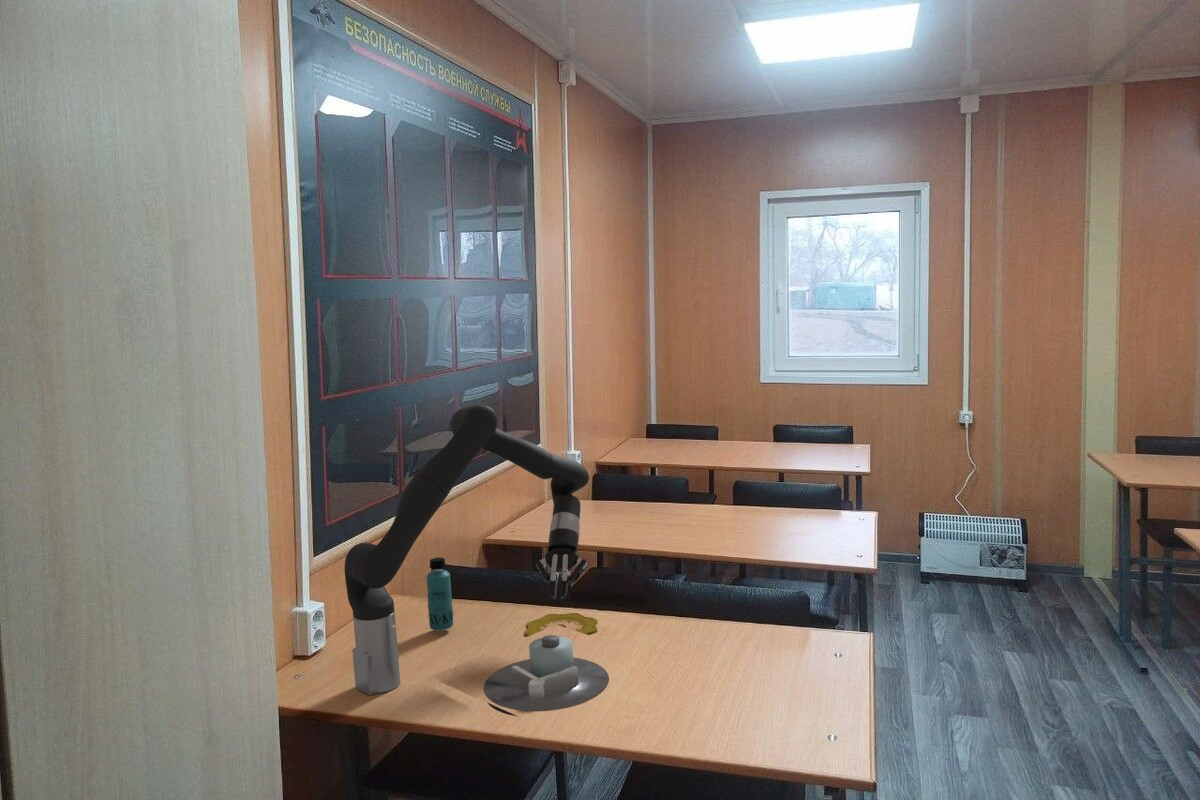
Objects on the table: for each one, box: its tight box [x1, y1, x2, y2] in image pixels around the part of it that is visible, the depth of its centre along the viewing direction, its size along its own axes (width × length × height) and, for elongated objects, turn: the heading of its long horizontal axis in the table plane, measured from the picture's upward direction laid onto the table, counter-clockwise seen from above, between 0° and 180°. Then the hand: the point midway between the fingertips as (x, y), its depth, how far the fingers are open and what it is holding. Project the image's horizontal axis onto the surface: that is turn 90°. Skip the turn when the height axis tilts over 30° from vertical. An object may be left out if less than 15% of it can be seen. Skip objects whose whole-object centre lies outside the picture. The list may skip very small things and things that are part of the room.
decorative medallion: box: [523, 612, 599, 638], centre depth 234 cm, size 20×20×2 cm
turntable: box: [483, 656, 610, 717], centre depth 198 cm, size 28×28×6 cm
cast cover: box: [528, 634, 574, 678], centre depth 204 cm, size 10×10×8 cm
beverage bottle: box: [425, 557, 455, 631], centre depth 235 cm, size 6×7×20 cm
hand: (557, 597), depth 214 cm, fingers closed
